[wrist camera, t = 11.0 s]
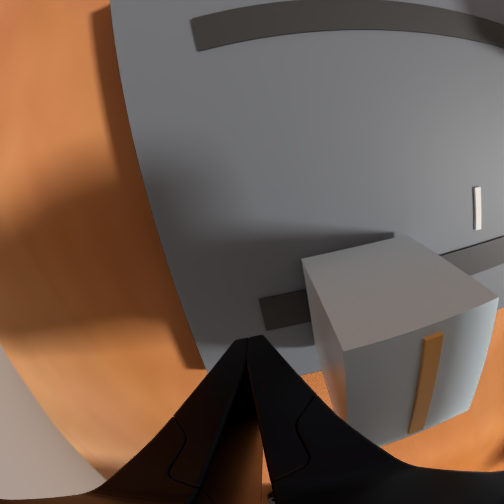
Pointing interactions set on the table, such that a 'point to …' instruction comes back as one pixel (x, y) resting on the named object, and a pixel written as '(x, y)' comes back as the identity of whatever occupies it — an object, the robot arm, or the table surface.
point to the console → (311, 146)
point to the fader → (397, 335)
